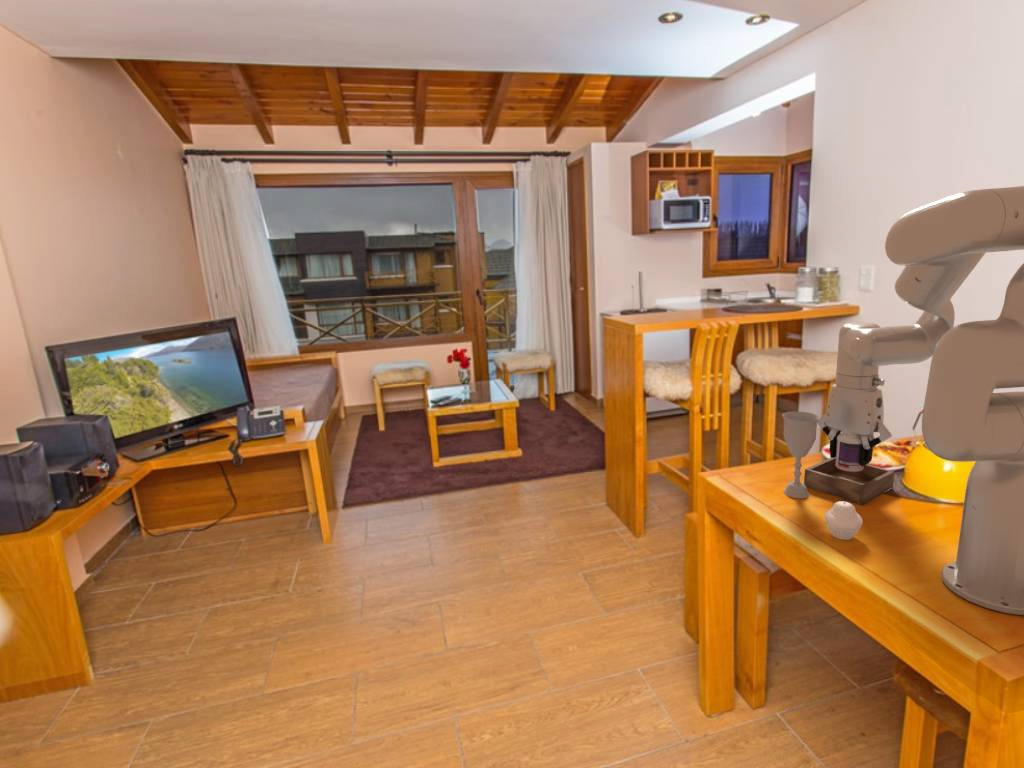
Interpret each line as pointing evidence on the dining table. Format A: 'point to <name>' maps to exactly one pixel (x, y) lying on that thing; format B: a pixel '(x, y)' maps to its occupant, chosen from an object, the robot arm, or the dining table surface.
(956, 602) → the dining table surface
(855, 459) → the pill bottle
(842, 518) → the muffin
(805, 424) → the chalice
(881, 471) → the walnut box
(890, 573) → the dining table surface
